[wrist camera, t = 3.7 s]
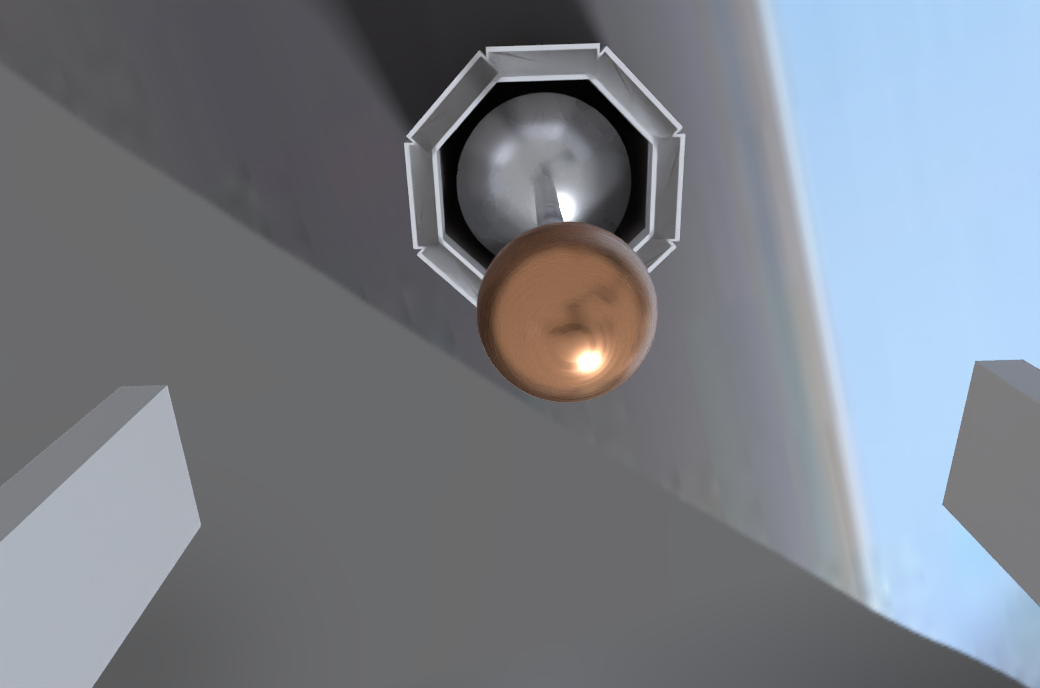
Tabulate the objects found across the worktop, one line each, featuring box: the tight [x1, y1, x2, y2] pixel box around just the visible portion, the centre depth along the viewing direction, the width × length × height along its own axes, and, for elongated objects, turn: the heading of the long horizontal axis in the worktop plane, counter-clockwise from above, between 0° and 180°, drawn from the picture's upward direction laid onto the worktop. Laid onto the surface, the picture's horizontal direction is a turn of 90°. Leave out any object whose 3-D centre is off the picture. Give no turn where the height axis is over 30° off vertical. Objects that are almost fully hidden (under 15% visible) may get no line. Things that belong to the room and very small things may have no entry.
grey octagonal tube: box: [404, 43, 685, 307], centre depth 39 cm, size 16×12×14 cm
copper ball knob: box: [457, 92, 658, 402], centre depth 25 cm, size 8×8×21 cm
